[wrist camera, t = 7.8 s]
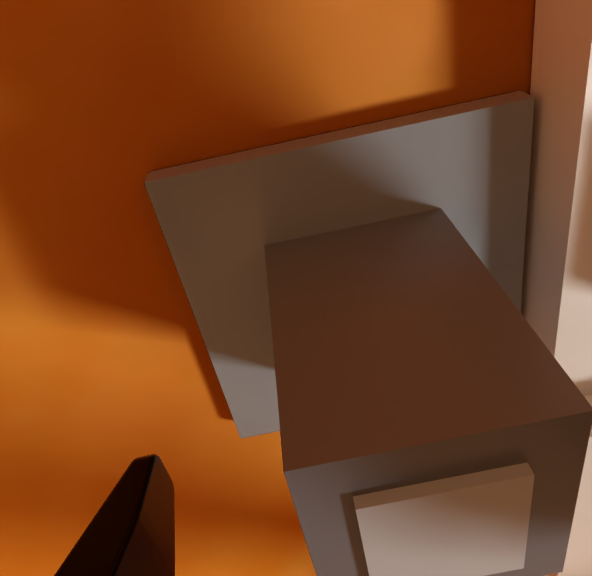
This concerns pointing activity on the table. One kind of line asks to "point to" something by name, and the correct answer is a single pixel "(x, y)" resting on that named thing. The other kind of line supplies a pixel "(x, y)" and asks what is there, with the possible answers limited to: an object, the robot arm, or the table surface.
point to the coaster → (336, 218)
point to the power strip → (563, 220)
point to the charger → (419, 407)
